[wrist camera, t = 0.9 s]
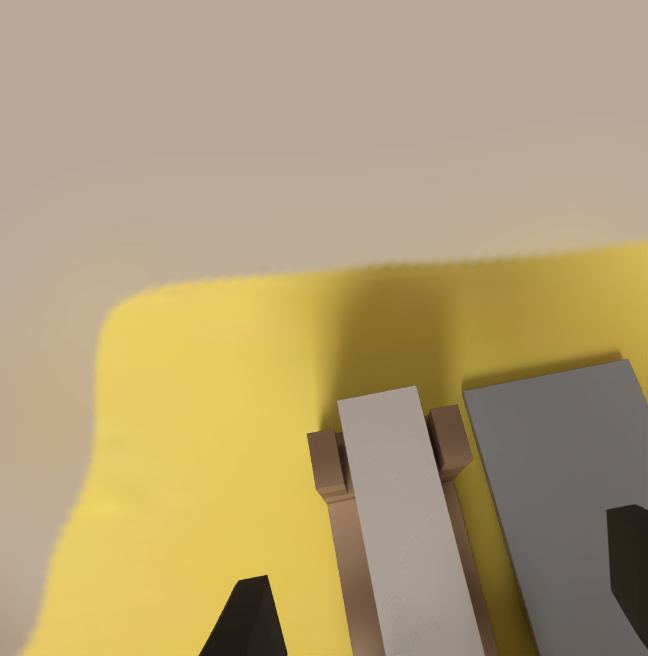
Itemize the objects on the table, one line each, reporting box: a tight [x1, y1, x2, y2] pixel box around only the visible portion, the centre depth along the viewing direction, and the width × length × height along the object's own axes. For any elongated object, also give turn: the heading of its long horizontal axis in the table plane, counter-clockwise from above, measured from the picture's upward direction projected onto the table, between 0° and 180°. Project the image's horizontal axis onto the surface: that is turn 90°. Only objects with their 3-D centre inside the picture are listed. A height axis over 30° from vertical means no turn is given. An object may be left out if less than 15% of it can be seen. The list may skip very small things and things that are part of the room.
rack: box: [307, 404, 499, 656], centre depth 20 cm, size 16×6×6 cm, turn 10°
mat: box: [462, 359, 648, 656], centre depth 23 cm, size 18×8×1 cm, turn 10°
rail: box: [337, 385, 485, 656], centre depth 19 cm, size 16×3×3 cm, turn 10°
